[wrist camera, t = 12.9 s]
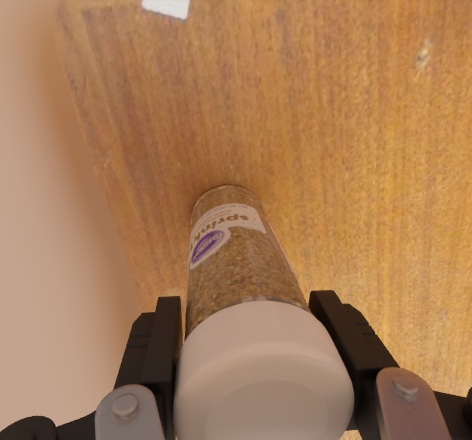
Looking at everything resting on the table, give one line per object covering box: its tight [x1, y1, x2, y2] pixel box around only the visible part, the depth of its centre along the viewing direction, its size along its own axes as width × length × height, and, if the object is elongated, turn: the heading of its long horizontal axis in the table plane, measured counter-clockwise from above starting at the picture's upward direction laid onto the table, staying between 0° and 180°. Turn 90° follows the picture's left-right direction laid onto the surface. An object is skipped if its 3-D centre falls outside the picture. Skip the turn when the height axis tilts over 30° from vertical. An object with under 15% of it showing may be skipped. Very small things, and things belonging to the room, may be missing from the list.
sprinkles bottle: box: [173, 185, 354, 440], centre depth 14 cm, size 5×5×14 cm
